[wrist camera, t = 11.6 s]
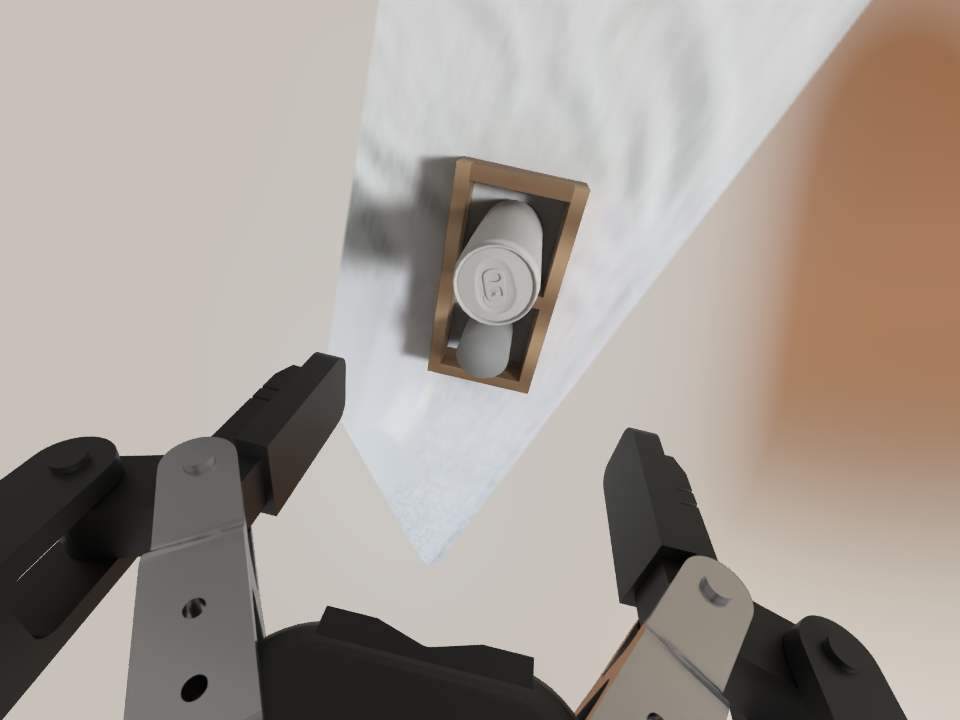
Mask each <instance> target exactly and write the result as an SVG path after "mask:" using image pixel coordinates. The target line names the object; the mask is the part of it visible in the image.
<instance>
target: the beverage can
mask: <svg viewBox="0 0 960 720" xmlns="http://www.w3.org/2000/svg"><path fill="white" fill-rule="evenodd" d="M542 237H543V228H542V225H541V221H540V219H539V218H538V216H537V214H536V213H535V211H534V210H533V209H532V208H531V207H530V206H528V205H527V204H526V203H524V202H521V201H517V200H506V201H502V202H499V203H498V204H496V205H494V206H493V207H492V208H491V209H490V210H489V211H488V212H487V214H486V215H485V217H484V219H483V220H482V222H481V223H480V225H479V226H478V228H477V229H476V231H475V232H474V234H473V235H472V237H471V239H470V240H469V242H468V244H467V245H466V247H465V249H464V250H463V252H462V254H461V256H460V257H459V259H458V261H457V263H456V265H455V270H454V275H453V289H454V294H455V297H456V300H457V302H458V303H459V305H460V307H461V308H462V310H463V311H464V312H466V313H467V314H468V315H469V316H470V317H471V318H473V319H475V320H477V321H478V322H481V323H484V324H488V325H499V326H501V325H506V324H511V323H513V322H515V321H517V320H519V319H521V318H522V317H523V316H524V315H525V314H527V313H528V312H529V310H530V309H531V307H532V306H533V304H534V302H535V301H536V299H537V296H538V293H539V291H540V284H541V262H542Z"/></svg>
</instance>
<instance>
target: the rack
mask: <svg viewBox="0 0 960 720" xmlns="http://www.w3.org/2000/svg"><path fill="white" fill-rule="evenodd" d="M474 181H475V182H480V183H484V184H489V185H493V186H498V187H502V188H507V189H511V190H516V191H520V192H525V193H529V194H534V195H538V196H543V197H547V198H552V199H556V200H561V201H565V202H567V203H566V207H565V210H564V214H563V217H562V221H561V224H560V228H559V231H558V235H557V238H556V242H555V245H554V249H553V252H552V256H551V260H550V263H549V267H548V270H547V274H546V277H545V281H544V284H543V283H541V284H540V291H539V293H538V296H537V299H536V301H535V302H534V304H533V306H532V307H531V308H535V309H536V313H535V316H534V320H533V323H532V327H531V330H530V334H529V337H528V341H527V344H526V348H525V351H524V355H523V359H522V362H521V364H520V363H515V362H511V361H508V364H507V366H506V368H505V369H504V371H503V372H502V373H500V374H499V375H497V376H495V377H492V378H477V377H474V376H471V375H469V374H468V373H466V372H465V371H464V370H463V369H462V368H461V367H460V365H459V363H458V361H457V357H456V351H457V349H455V348H451V347H447V345H448V339H449V333H450V327H451V321H452V315H453V309H454V302H455V294H454V289H453V275H454V270H455V265H456V263H457V261H458V259H459V257H460V256H461V254H462V252H463V247H464V241H465V235H466V229H467V223H468V217H469V210H470V204H471V198H472V192H473V186H474ZM589 193H590V189H589V187H588V185H587V183H583V182H578V181H574V180H569V179H565V178H560V177H556V176H551V175H547V174H542V173H538V172H533V171H529V170H524V169H520V168H515V167H511V166H506V165H502V164H497V163H493V162H488V161H483V160H479V159H474V158H470V157H465V156H464V157H462V158H460V159H459V160H457V161H456V168H455V175H454V183H453V190H452V197H451V204H450V212H449V219H448V226H447V233H446V241H445V248H444V255H443V262H442V270H441V277H440V284H439V291H438V299H437V306H436V313H435V320H434V328H433V335H432V342H431V349H430V357H429V364H428V371H433V372H437V373H441V374H445V375H450V376H454V377H458V378H462V379H467V380H471V381H475V382H480V383H484V384H488V385H492V386H497V387H501V388H505V389H509V390H514V391H518V392H522V393H527V394H528V391H529V388H530V384H531V381H532V378H533V375H534V371H535V368H536V365H537V362H538V358H539V355H540V352H541V349H542V345H543V342H544V339H545V336H546V332H547V329H548V326H549V323H550V319H551V316H552V313H553V310H554V306H555V303H556V300H557V297H558V293H559V290H560V287H561V284H562V280H563V277H564V274H565V271H566V267H567V264H568V261H569V258H570V254H571V251H572V248H573V245H574V241H575V238H576V235H577V232H578V228H579V225H580V222H581V219H582V215H583V212H584V209H585V206H586V202H587V199H588V196H589Z"/></svg>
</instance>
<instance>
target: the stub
mask: <svg viewBox="0 0 960 720" xmlns="http://www.w3.org/2000/svg"><path fill="white" fill-rule="evenodd" d="M513 328H514V322H513V323H511V324H506V325H501V326H499V325H488V324H484V323H481V322H478V321H477V320H475V319H473V318H471V317H470V316H469V318H468V321H467V324H466V326H465V329H464V331H463V334H462V337H461V339H460V342H459V344H458V347H457V351H456V357H457V361H458V363H459V365H460V367H461V368H462V369H463V370H464V371H465V372H466V373H468V374H469V375H471V376H474V377H477V378H492V377H495V376H497V375H499V374H500V373H502V372H503V371H504V369H505V368H506V366H507V364H508V359H509V353H510V347H511V341H512V334H513Z"/></svg>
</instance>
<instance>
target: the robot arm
mask: <svg viewBox="0 0 960 720" xmlns="http://www.w3.org/2000/svg"><path fill="white" fill-rule="evenodd" d="M345 375H346V364H345V360H344V359H343V358H340V357H336V356H332V355H327V354H323V353H319V352H316V353H314V354H313V355H312V356H311V357H310V358H309V359H308V360H307V361H306V363H304V365H303V366H302V367H299V366H295V365H292V366H290V367H288V368H286V369H284V370H282V371H280V372H278V373H276V374H275V375H273V376H272V377H271V378H270V379H269V380H268V381H267V382H266V383H265V384H264V385H263V388H260V389H259V390H258V391H257V392H256V393H255V394H254V395H253V398H250V399H249V400H248V401H247V402H246V403H245V404H244V405H243V406H242V407H241V408H240V409H239V410H238V411H237V412H236V413H235V414H234V415H233V416H232V417H231V418H230V419H229V420H228V421H227V422H226V423H225V424H224V425H223V426H222V427H221V428H220V429H219V430H218V431H217V432H216V433H215V434H214V435H212V436H211V437H201V438H196V439H192V440H189V441H186V442H183V443H181V444H179V445H177V446H176V447H174V448H172V449H171V450H170V451H168V452H167V453H166V454H165V455H152V456H119V454H118V451H117V449H116V447H115V445H114V444H113V443H112V442H111V441H109V440H107V439H104V438H100V437H79V438H74V439H69V440H66V441H62V442H59V443H56V444H54V445H52V446H50V447H47V448H45V449H43V450H42V451H40V452H38V453H37V454H36V455H34V456H33V457H31V458H30V459H28V460H27V461H26V462H24V463H23V464H22V465H20V466H19V467H18V468H16V469H15V470H14V471H12V472H11V473H9V474H8V475H7V476H5V477H4V478H3V479H1V480H0V720H2V719H3V718H4V717H5V716H6V714H7V713H8V712H9V711H10V710H11V709H12V707H13V706H14V705H15V704H16V703H17V701H18V700H19V699H20V698H21V696H22V695H23V694H24V693H25V692H26V690H27V689H28V688H29V687H30V686H31V684H32V683H33V682H34V681H35V680H36V678H37V677H38V676H39V675H40V673H41V672H42V671H43V670H44V669H45V668H46V666H47V665H48V664H49V663H50V662H51V660H52V659H53V658H54V657H55V656H56V654H57V653H58V652H59V651H60V649H61V648H62V647H63V646H64V645H65V644H66V642H67V641H68V640H69V639H70V638H71V636H72V635H73V634H74V633H75V632H76V630H77V629H78V628H79V627H80V626H81V624H82V623H83V622H84V621H85V620H86V618H87V617H88V616H89V614H91V612H92V611H93V610H94V609H95V607H96V606H97V605H98V604H99V603H100V601H101V600H102V599H103V598H104V597H105V596H106V594H107V593H108V592H109V591H110V589H111V588H112V587H113V586H114V585H115V583H116V582H117V581H118V580H119V579H120V577H121V576H122V575H123V574H124V573H125V571H126V570H127V569H128V568H129V567H130V565H131V564H132V563H133V562H134V560H135V559H136V558H137V557H138V556H139V557H140V556H141V559H140V562H139V568H138V577H137V587H136V597H135V608H134V618H133V628H132V639H131V650H130V660H129V670H128V680H127V690H126V700H125V711H124V720H726V719H727V716H728V712H729V708H730V712H731V715H732V719H733V720H907V718H906V716H905V714H904V712H903V711H902V709H901V707H900V705H899V703H898V701H897V699H896V698H895V696H894V694H893V692H892V690H891V688H890V686H889V685H888V683H887V681H886V679H885V677H884V675H883V673H882V672H881V670H880V668H879V666H878V664H877V663H876V661H875V659H874V658H873V657H872V655H871V654H870V653H869V651H868V650H867V649H866V648H865V647H864V646H863V644H861V642H859V641H858V639H856V638H855V637H854V636H853V635H852V634H851V633H849V632H848V631H847V630H846V629H844V628H843V627H841V626H840V625H838V624H837V623H835V622H833V621H831V620H829V619H826V618H824V617H820V616H813V615H812V616H807V617H805V618H803V619H802V620H801V621H799V622H798V623H797V624H794V623H792V622H790V621H788V620H787V619H785V618H783V617H781V616H779V615H777V614H775V613H773V612H771V611H770V610H768V609H766V608H764V607H762V606H760V605H759V604H757V603H755V602H753V601H752V598H751V596H750V594H749V592H748V590H747V588H746V587H745V585H744V584H743V582H742V581H741V580H740V579H739V578H738V576H736V574H735V573H734V572H732V571H731V570H730V569H729V568H727V567H726V566H725V565H723V564H722V563H720V562H718V560H717V558H716V554H715V552H714V549H713V546H712V544H711V541H710V538H709V535H708V533H707V530H706V527H705V525H704V522H703V519H702V516H701V514H700V511H699V509H698V508H697V503H696V500H695V497H694V494H692V493H691V492H692V489H691V486H690V484H689V481H688V478H687V475H686V473H685V472H684V471H683V469H682V468H681V467H680V466H679V464H678V463H677V462H676V460H675V459H674V458H673V457H670V456H666V455H664V451H663V448H662V445H661V442H660V439H659V437H658V435H657V434H654V433H650V432H646V431H642V430H638V429H633V428H627V429H626V430H625V431H624V433H623V435H622V437H621V439H620V441H619V443H618V445H617V447H616V449H615V451H614V453H613V454H612V456H611V459H610V461H609V462H608V464H607V467H606V470H605V474H604V481H603V485H604V486H603V487H604V495H605V501H606V509H607V515H608V523H609V530H610V536H611V545H612V552H613V559H614V566H615V573H616V580H617V587H618V595H619V601H620V603H622V604H626V605H630V606H634V607H637V611H638V617H639V619H638V620H637V622H636V623H635V624H634V625H633V627H632V629H631V630H630V632H629V633H628V635H627V636H626V638H625V639H624V641H623V642H622V644H621V645H620V647H619V649H618V650H617V651H616V653H615V655H614V656H613V657H612V659H611V661H610V662H609V664H608V665H607V667H606V668H605V670H604V671H603V673H602V674H601V676H600V678H599V679H598V681H597V682H596V684H595V685H594V686H593V688H592V689H591V691H590V692H589V693H588V695H587V696H586V697H585V699H584V700H583V701H582V703H581V704H580V706H579V707H578V708H577V710H576V711H575V713H574V712H573V711H572V710H571V709H570V707H569V706H568V705H567V704H566V703H565V701H564V700H563V699H562V698H561V697H560V696H559V695H558V694H557V693H556V692H555V691H554V690H553V689H552V688H550V687H549V686H548V685H547V684H545V683H544V682H542V681H541V680H540V679H538V678H537V677H535V676H533V668H534V658H533V657H529V656H525V655H521V654H517V653H513V652H509V651H505V650H501V649H497V648H493V647H489V646H486V645H468V646H449V647H426V646H423V645H421V644H419V643H418V642H416V641H415V640H413V639H411V638H409V637H408V636H406V635H404V634H403V633H401V632H400V631H398V630H396V629H395V628H393V627H391V626H390V625H388V624H386V623H385V622H383V621H381V620H380V619H378V618H374V617H370V616H366V615H363V614H359V613H355V612H350V611H347V610H343V609H339V608H335V607H331V606H327V607H326V609H325V612H324V614H323V616H322V618H321V620H320V621H318V622H308V623H303V624H297V625H294V626H291V627H288V628H284V629H282V630H280V631H277V632H275V633H273V634H270V635H268V636H267V637H266V634H265V627H264V621H263V614H262V608H261V601H260V593H259V585H258V576H257V568H256V559H255V551H254V543H253V535H252V527H251V525H252V524H253V522H254V521H255V519H256V518H257V516H258V515H259V514H260V512H262V513H266V514H270V515H274V516H277V515H278V513H279V512H280V510H281V509H282V507H283V506H284V504H285V503H286V501H287V500H288V498H289V497H290V495H291V494H292V492H293V490H294V489H295V487H296V486H297V484H298V483H299V481H300V480H301V478H302V477H303V475H304V474H305V472H306V471H307V469H308V468H309V466H310V465H311V463H312V461H313V460H314V459H315V457H316V456H317V454H318V452H319V451H320V450H321V448H322V447H323V445H324V444H325V442H326V441H327V439H328V438H329V436H330V434H331V433H332V431H333V430H334V428H335V427H336V425H337V424H338V422H339V421H340V419H341V416H342V414H343V410H344V406H345ZM58 540H59V541H58ZM57 541H58V542H57ZM56 542H57V543H56ZM55 543H56V544H55ZM54 544H55V545H54ZM53 545H54V546H53ZM52 546H53V547H52ZM50 547H52V548H51V549H50ZM49 549H50V550H49ZM47 550H49V551H48V552H47V553H46V554H45V555H43V554H44V553H45V552H46V551H47ZM42 555H43V557H42V558H40V557H41V556H42ZM39 558H40V559H39ZM38 559H39V560H38ZM37 560H38V561H37ZM36 561H37V562H36ZM35 562H36V563H35ZM34 563H35V564H34ZM33 564H34V565H33ZM32 565H33V566H32ZM31 566H32V567H31ZM30 567H31V568H30ZM29 568H30V569H29ZM28 569H29V570H28ZM26 570H28V571H27V572H26ZM25 572H26V573H25ZM24 573H25V574H24ZM22 574H24V575H23V576H22V577H21V575H22ZM20 577H21V578H20ZM19 578H20V579H19ZM18 579H19V580H18ZM17 580H18V581H17Z"/></svg>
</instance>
